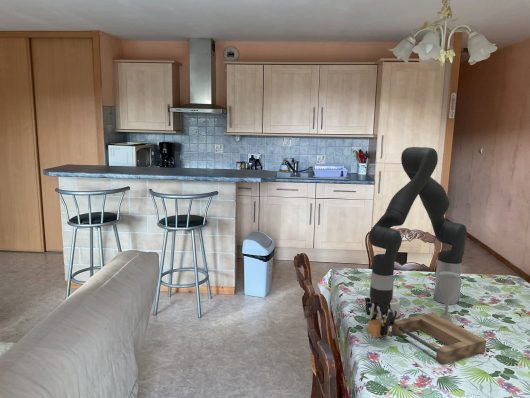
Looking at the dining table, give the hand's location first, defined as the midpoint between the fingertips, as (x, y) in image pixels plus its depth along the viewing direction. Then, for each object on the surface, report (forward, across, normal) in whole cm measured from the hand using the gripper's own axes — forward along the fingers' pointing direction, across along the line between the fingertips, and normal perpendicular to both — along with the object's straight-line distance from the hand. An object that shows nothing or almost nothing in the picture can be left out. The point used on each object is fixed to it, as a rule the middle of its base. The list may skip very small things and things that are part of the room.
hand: (378, 331), depth 144 cm
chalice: (+1, -2, -30) cm, 30 cm away
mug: (+1, +12, -15) cm, 19 cm away
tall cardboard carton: (+1, 0, 0) cm, 1 cm away
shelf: (+1, -12, -14) cm, 19 cm away
